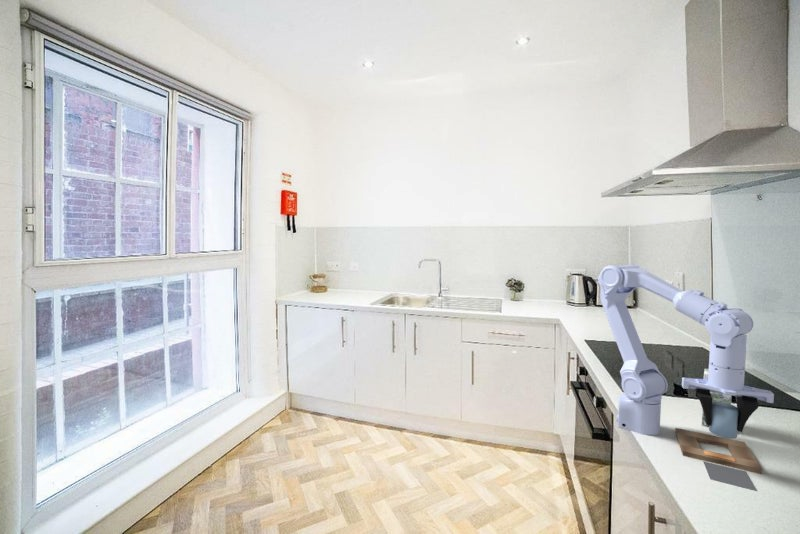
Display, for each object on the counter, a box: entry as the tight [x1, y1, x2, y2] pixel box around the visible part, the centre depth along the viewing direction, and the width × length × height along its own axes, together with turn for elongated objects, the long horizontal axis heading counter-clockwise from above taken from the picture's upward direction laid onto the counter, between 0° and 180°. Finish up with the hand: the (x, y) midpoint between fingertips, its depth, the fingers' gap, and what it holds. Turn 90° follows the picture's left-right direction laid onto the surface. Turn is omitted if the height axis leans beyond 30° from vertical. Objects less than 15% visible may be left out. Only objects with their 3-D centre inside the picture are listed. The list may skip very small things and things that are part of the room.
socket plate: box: [674, 427, 763, 475], centre depth 83 cm, size 13×12×2 cm
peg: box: [708, 402, 739, 440], centre depth 77 cm, size 4×4×6 cm
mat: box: [702, 460, 758, 492], centre depth 74 cm, size 7×7×1 cm
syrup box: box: [701, 368, 733, 428], centre depth 96 cm, size 6×6×14 cm
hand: (722, 426), depth 78 cm, fingers closed on peg, 4 cm apart
